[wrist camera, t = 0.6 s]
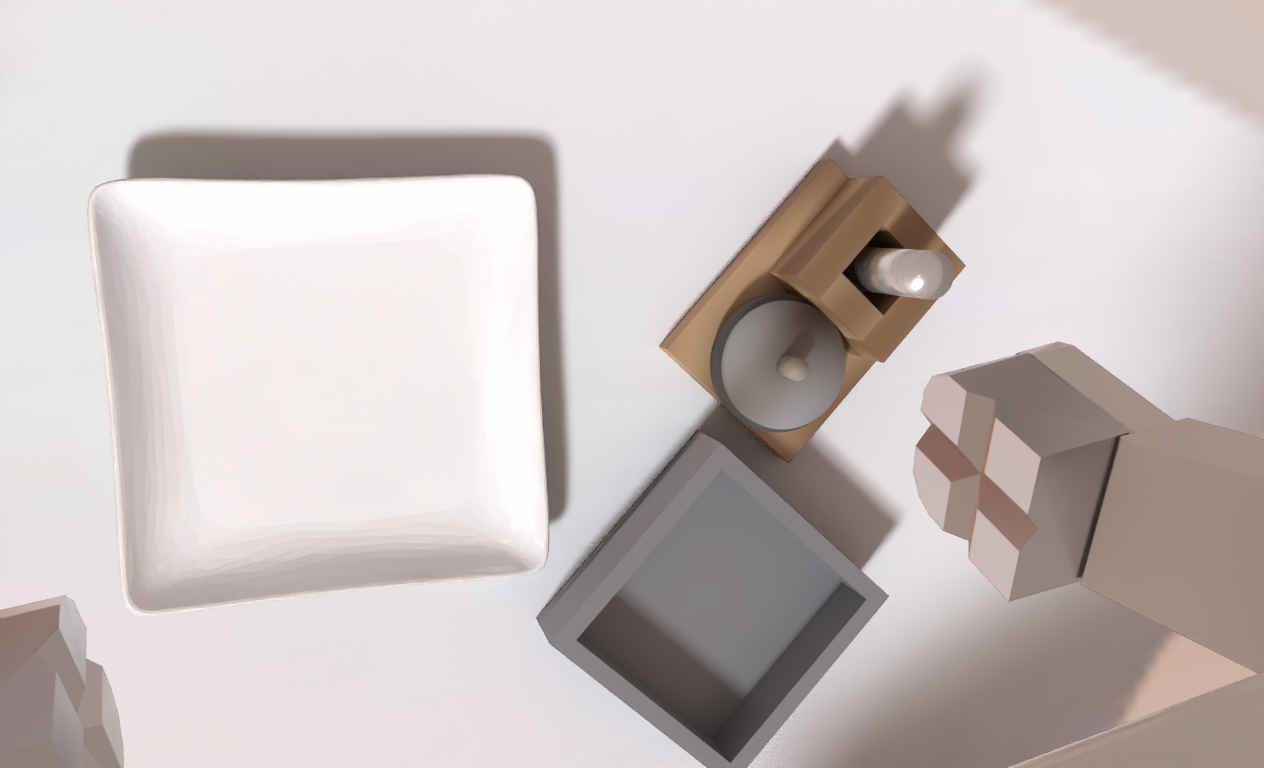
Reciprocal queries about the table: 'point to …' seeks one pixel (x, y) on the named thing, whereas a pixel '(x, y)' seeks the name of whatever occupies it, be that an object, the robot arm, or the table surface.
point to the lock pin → (901, 272)
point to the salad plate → (320, 384)
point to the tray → (711, 607)
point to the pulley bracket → (803, 308)
